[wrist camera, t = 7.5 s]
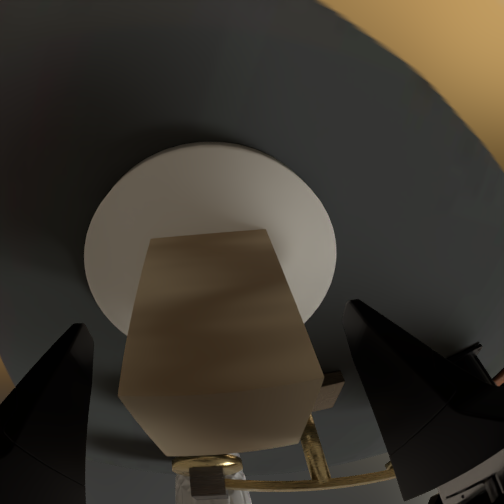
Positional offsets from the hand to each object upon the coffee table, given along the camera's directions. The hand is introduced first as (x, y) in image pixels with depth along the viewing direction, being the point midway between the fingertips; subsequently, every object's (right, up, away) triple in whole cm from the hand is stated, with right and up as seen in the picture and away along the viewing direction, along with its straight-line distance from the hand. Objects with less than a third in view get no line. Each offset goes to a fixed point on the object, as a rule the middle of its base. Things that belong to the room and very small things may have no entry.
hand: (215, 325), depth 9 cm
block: (0, +1, +2) cm, 2 cm away
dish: (-1, +2, +3) cm, 4 cm away
